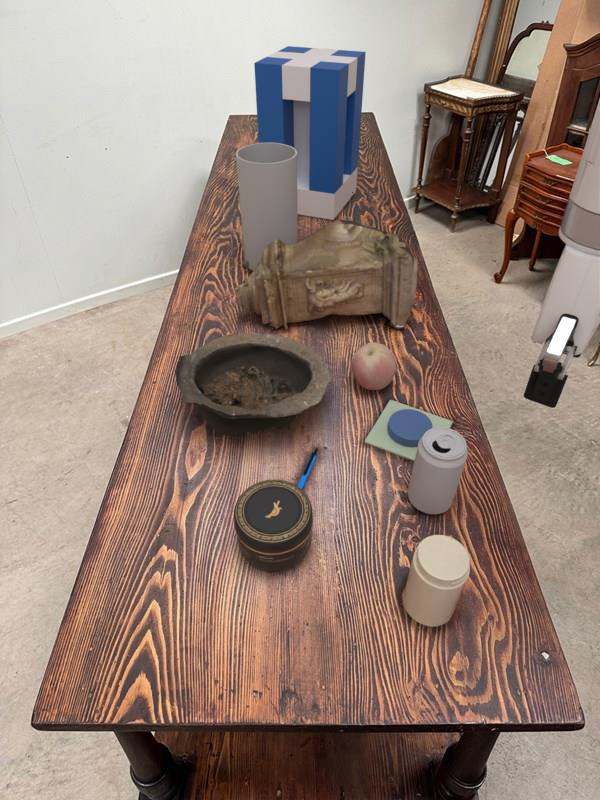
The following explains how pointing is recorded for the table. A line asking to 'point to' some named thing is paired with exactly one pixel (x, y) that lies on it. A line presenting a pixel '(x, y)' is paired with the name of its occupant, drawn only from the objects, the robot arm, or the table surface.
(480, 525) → the table surface
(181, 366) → the stone bowl
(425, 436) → the beverage can
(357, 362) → the apple
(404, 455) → the coaster
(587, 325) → the robot arm
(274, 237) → the cylinder vase
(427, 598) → the jam jar
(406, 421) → the jar lid
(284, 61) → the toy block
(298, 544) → the jar
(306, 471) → the pen
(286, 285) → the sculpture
